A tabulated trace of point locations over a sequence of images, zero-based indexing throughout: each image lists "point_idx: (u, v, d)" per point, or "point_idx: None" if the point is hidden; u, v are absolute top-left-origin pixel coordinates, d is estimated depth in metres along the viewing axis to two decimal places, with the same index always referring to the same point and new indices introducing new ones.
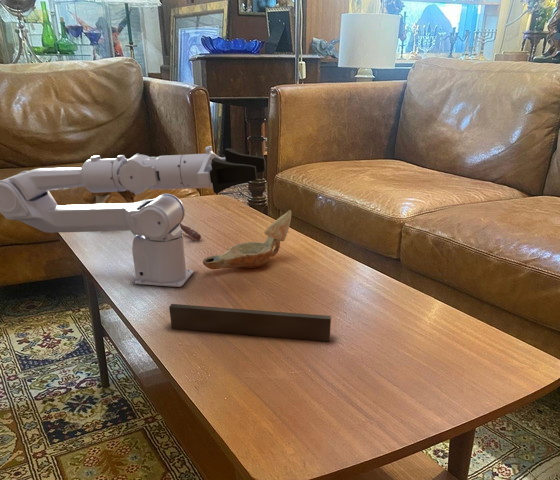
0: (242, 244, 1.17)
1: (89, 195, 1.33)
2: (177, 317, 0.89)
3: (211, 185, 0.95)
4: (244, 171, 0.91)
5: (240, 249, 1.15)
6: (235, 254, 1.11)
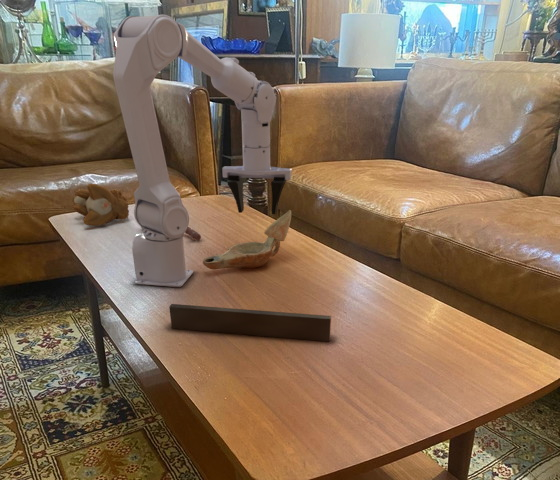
0: (242, 244, 1.17)
1: (78, 204, 1.39)
2: (177, 317, 0.89)
3: (267, 174, 1.13)
4: (277, 204, 1.18)
5: (240, 249, 1.15)
6: (235, 254, 1.11)
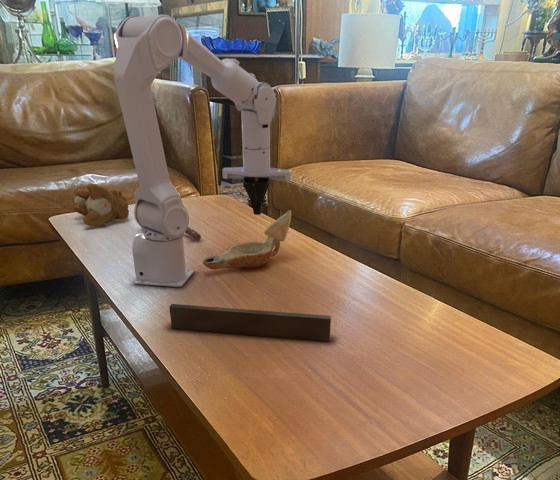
0: (242, 244, 1.17)
1: (78, 204, 1.39)
2: (177, 317, 0.89)
3: (267, 175, 1.13)
4: (261, 204, 1.19)
5: (240, 249, 1.15)
6: (235, 254, 1.11)
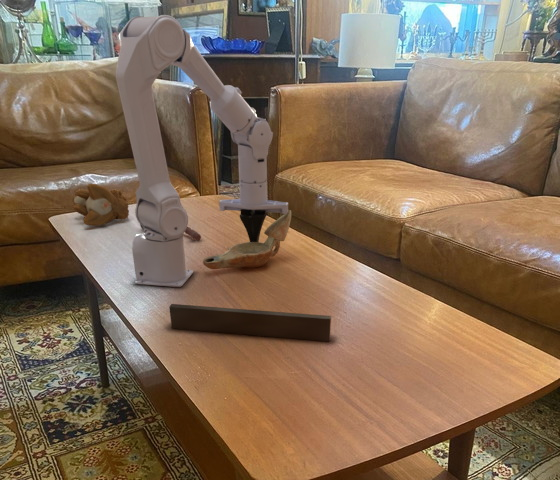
0: (242, 244, 1.17)
1: (78, 204, 1.39)
2: (177, 317, 0.89)
3: (264, 208, 1.13)
4: (258, 236, 1.19)
5: (240, 249, 1.15)
6: (235, 254, 1.11)
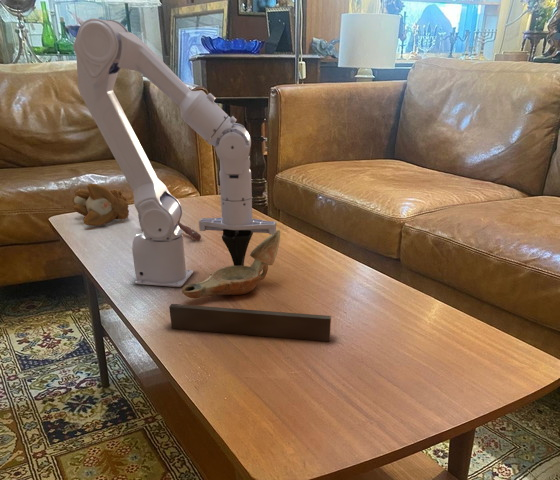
0: (226, 268, 1.04)
1: (78, 204, 1.39)
2: (177, 317, 0.89)
3: None
4: (243, 258, 1.07)
5: (224, 274, 1.03)
6: (218, 281, 0.99)
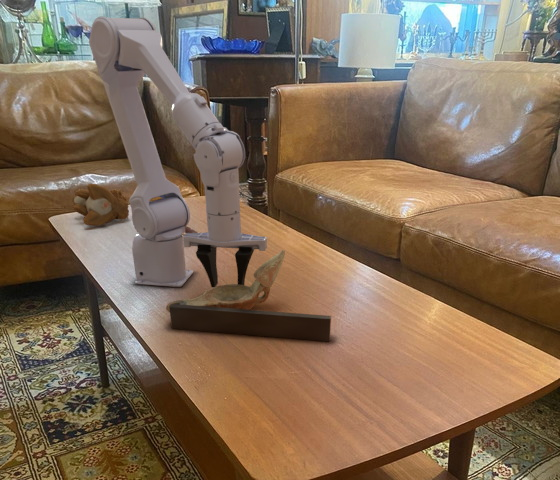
0: (224, 286, 0.97)
1: (78, 204, 1.39)
2: (177, 317, 0.89)
3: None
4: (244, 276, 0.98)
5: (219, 293, 0.96)
6: (207, 300, 0.92)
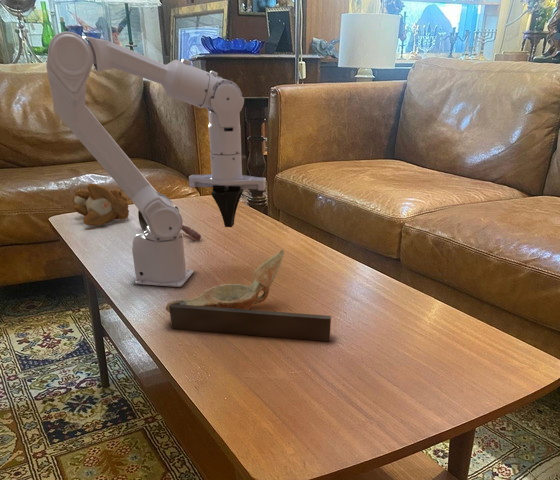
0: (223, 286, 0.97)
1: (78, 204, 1.39)
2: (177, 317, 0.89)
3: (238, 184, 1.01)
4: (233, 216, 1.07)
5: (219, 292, 0.96)
6: (207, 300, 0.92)
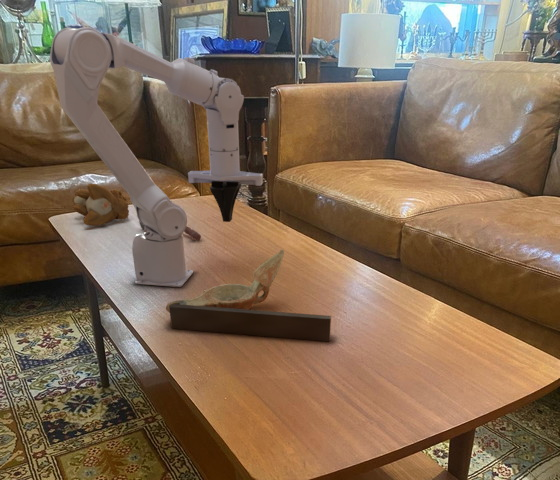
0: (223, 286, 0.97)
1: (78, 204, 1.39)
2: (177, 317, 0.89)
3: (236, 180, 1.04)
4: (231, 210, 1.10)
5: (219, 292, 0.96)
6: (207, 300, 0.92)
